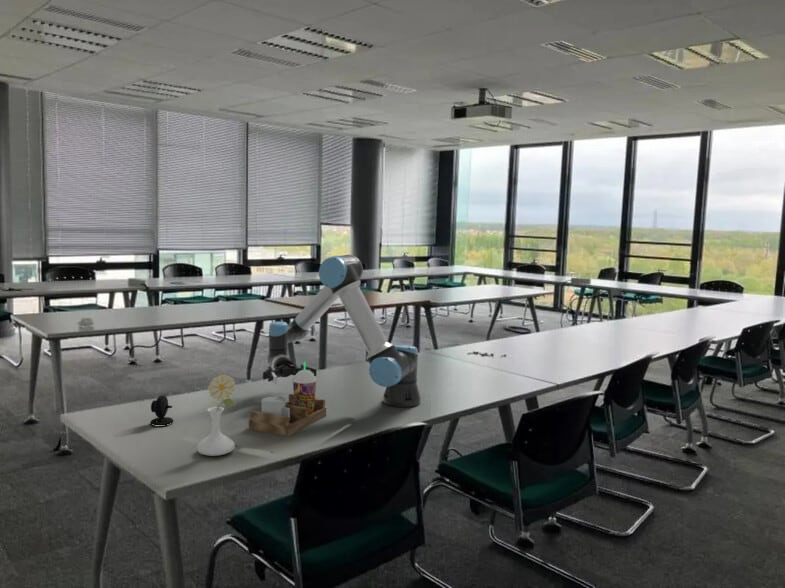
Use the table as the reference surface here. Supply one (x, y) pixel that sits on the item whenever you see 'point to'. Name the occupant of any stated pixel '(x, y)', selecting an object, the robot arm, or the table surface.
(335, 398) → the table surface
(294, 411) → the rack
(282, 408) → the mug
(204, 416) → the table surface
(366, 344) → the robot arm
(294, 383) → the smoothie
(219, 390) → the flower in vase
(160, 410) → the webcam
